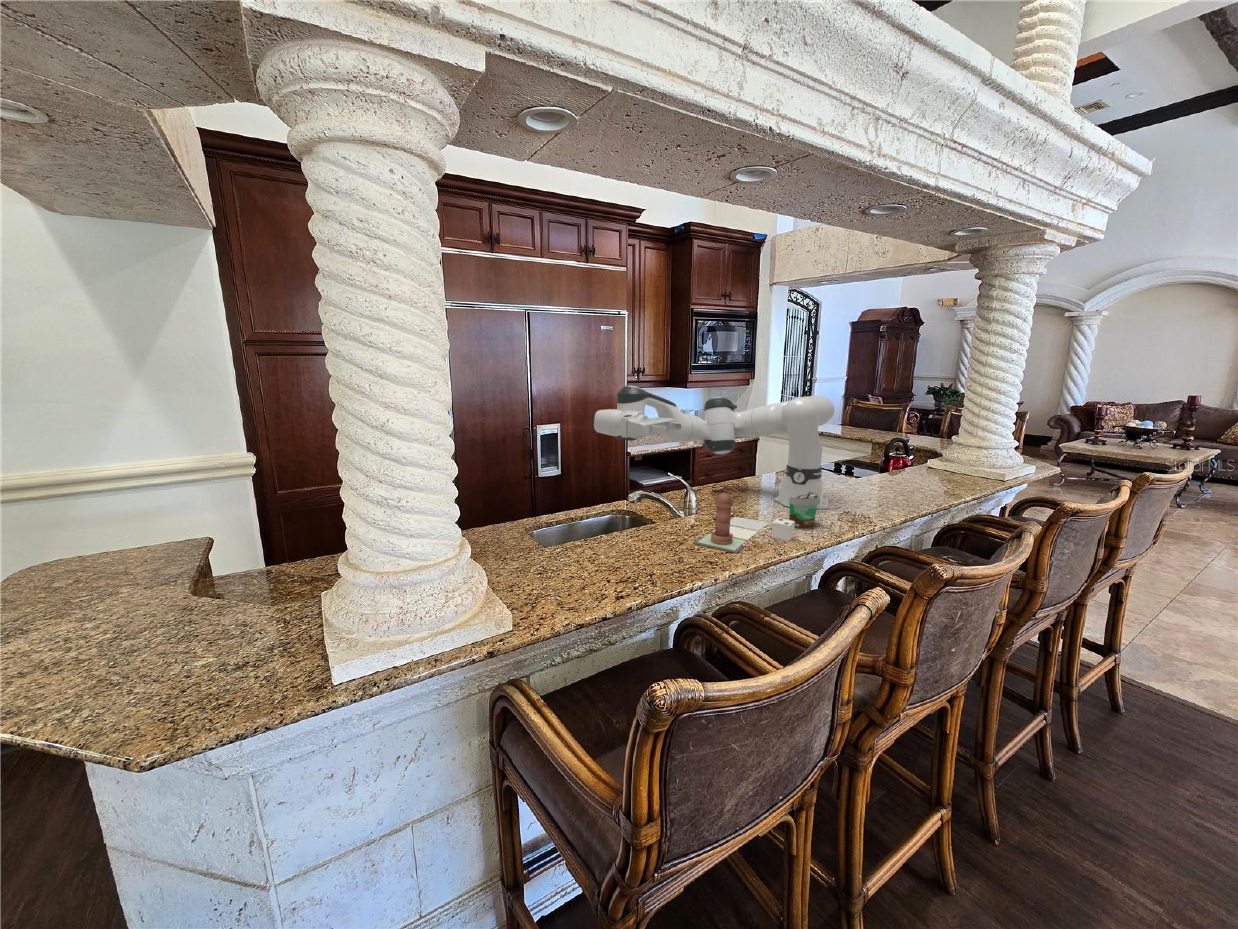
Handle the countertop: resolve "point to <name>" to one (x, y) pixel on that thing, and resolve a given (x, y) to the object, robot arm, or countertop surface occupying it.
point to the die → (783, 529)
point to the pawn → (723, 520)
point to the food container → (804, 510)
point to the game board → (734, 535)
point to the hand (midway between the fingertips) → (674, 428)
